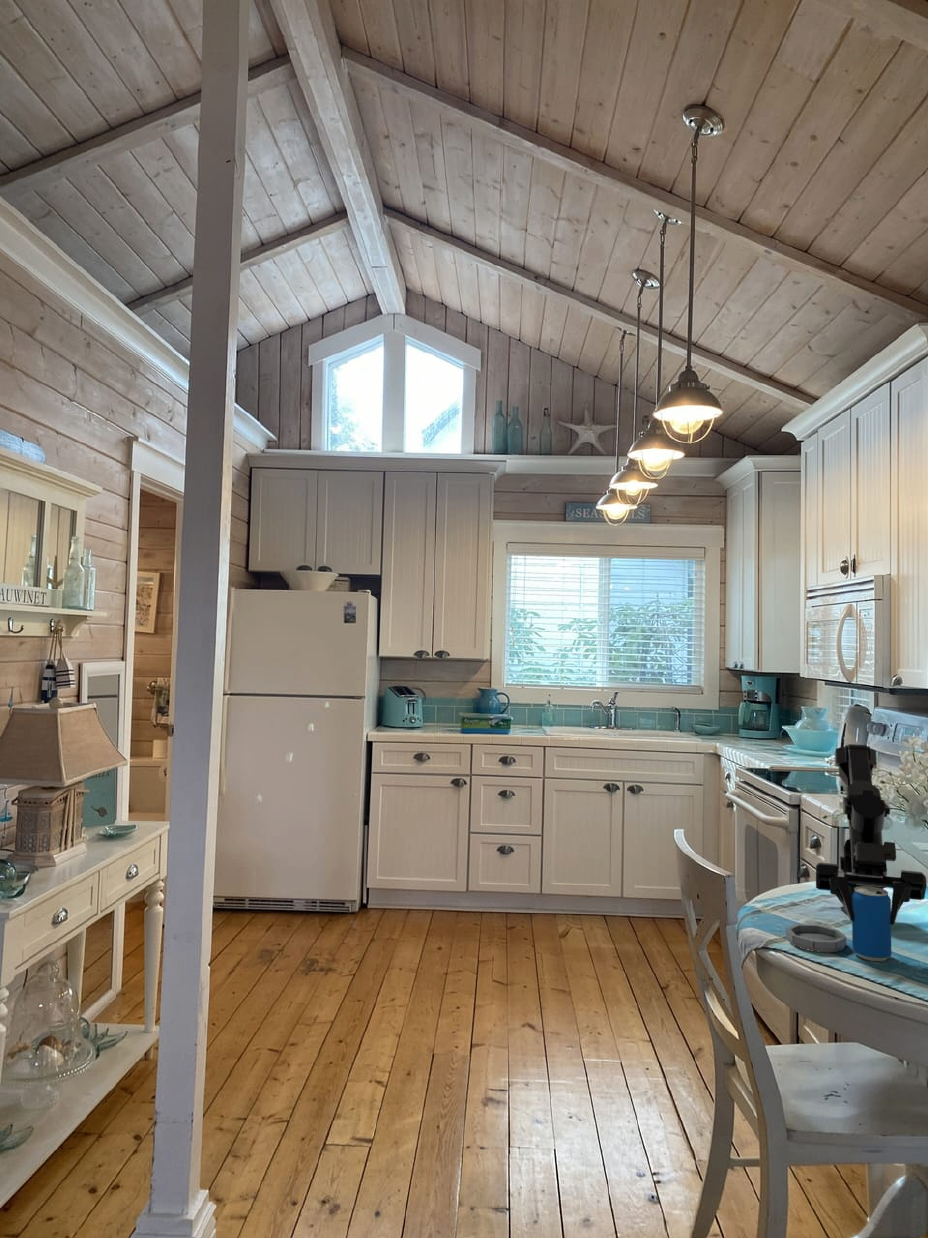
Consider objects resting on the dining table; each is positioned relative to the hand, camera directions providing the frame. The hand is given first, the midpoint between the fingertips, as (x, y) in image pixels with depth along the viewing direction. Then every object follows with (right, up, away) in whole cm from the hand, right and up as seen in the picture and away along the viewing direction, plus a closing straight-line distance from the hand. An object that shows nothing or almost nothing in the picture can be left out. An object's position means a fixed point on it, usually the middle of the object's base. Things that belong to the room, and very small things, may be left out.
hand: (872, 922), depth 153 cm
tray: (-7, -7, +8) cm, 12 cm away
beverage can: (0, -7, +1) cm, 7 cm away
